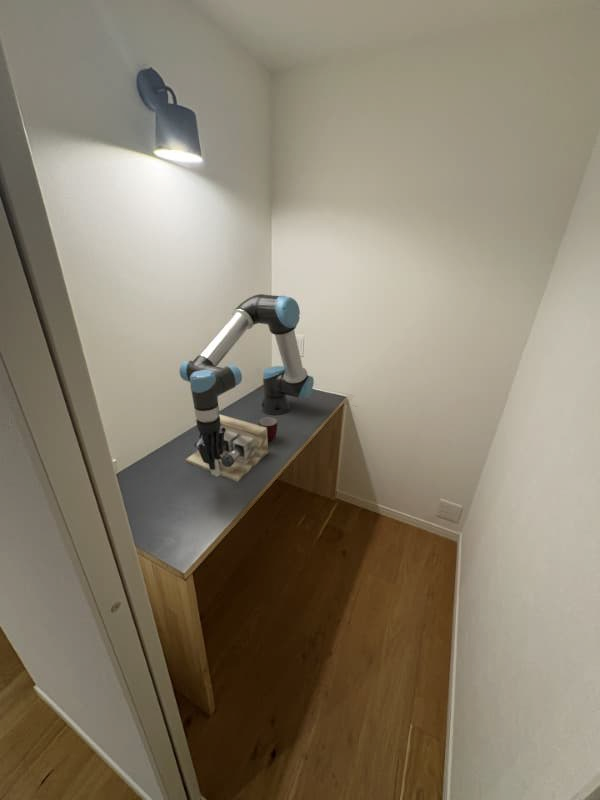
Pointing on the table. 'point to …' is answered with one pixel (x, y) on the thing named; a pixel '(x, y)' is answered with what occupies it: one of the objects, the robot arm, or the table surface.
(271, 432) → the mug
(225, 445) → the knob middle
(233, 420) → the mount
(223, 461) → the knob
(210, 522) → the table surface
